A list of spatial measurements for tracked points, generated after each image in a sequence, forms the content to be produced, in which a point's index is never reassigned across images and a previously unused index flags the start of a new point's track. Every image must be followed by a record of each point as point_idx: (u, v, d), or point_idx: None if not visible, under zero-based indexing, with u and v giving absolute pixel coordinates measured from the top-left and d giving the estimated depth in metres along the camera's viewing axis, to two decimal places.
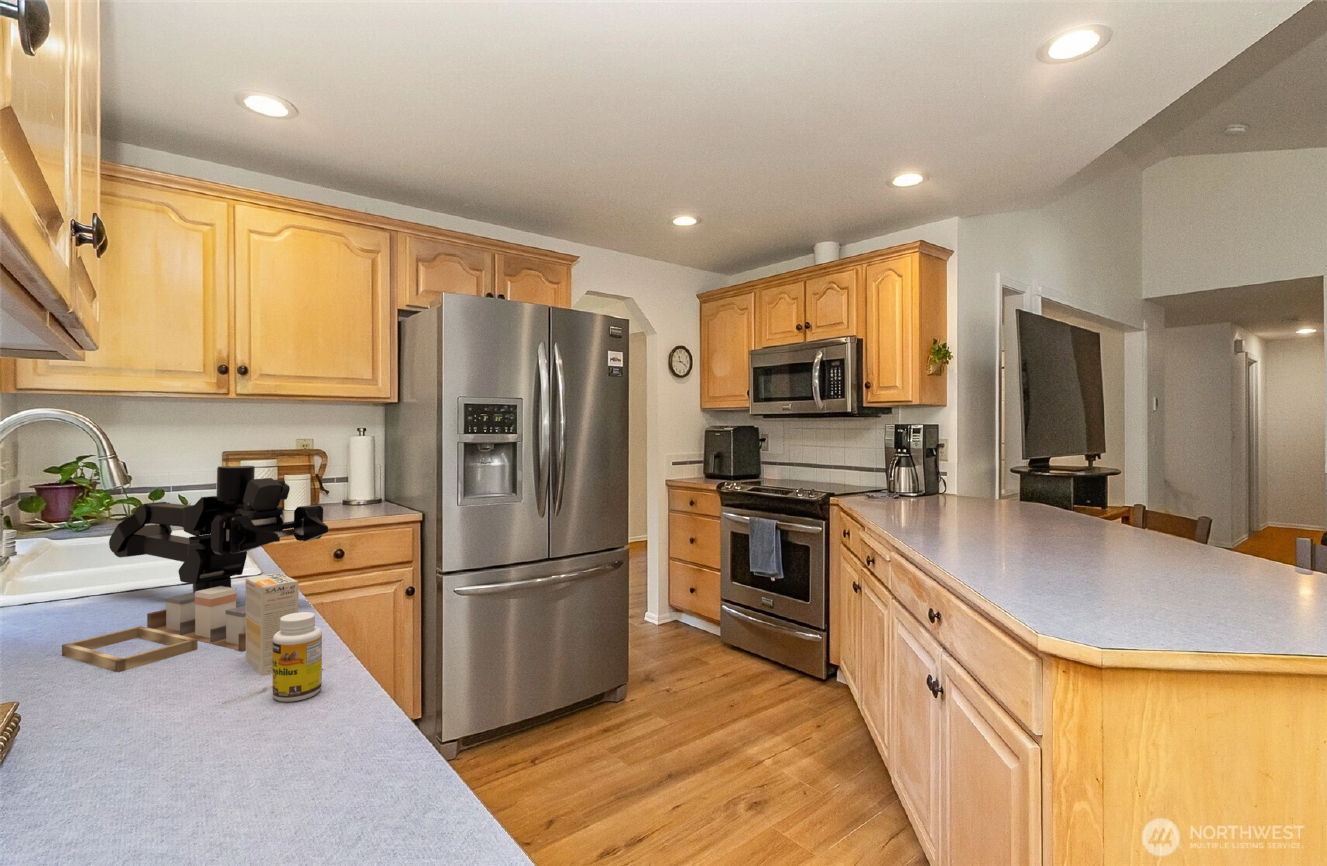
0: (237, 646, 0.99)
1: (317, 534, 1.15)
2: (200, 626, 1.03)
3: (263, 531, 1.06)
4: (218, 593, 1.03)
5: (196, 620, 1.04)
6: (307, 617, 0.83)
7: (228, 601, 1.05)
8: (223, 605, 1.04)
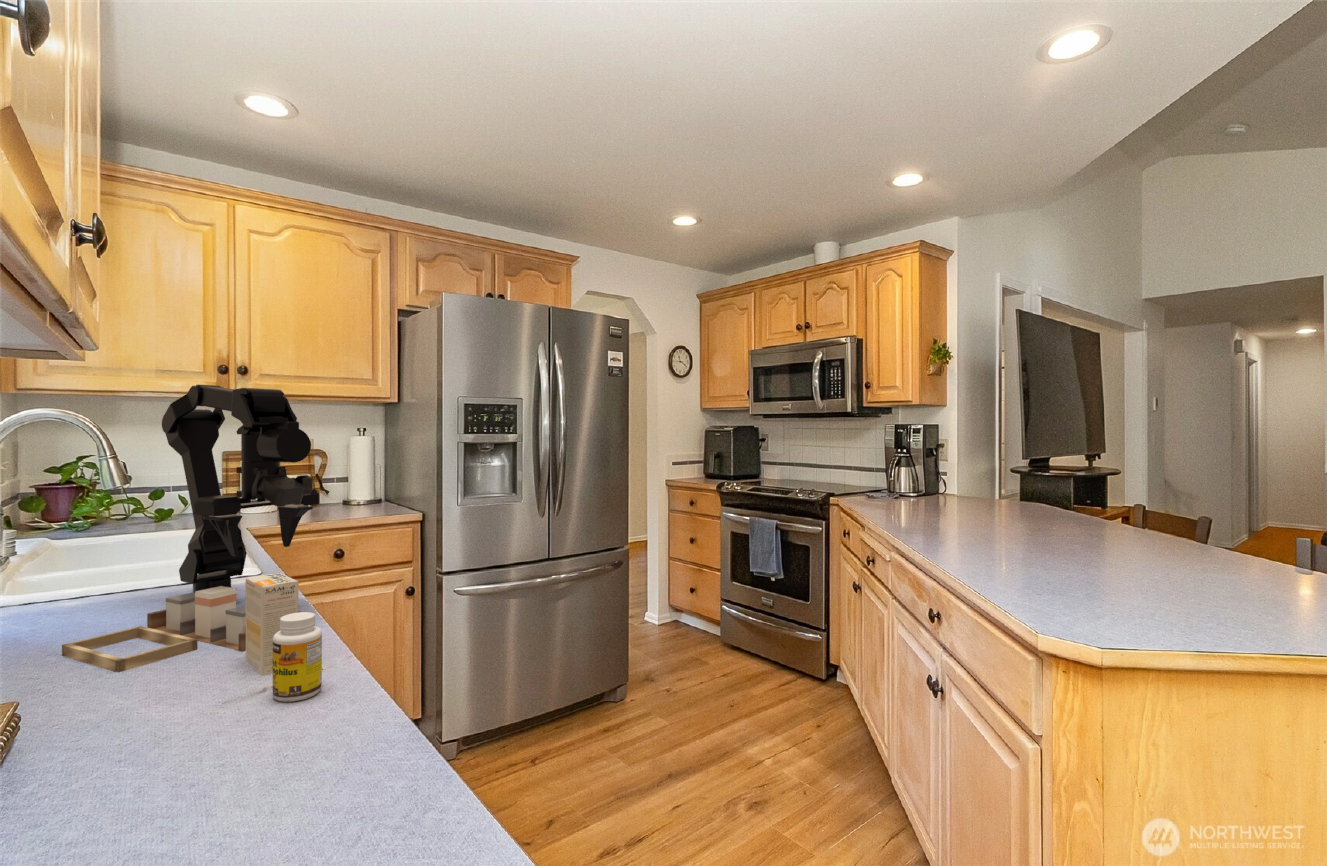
0: (237, 646, 0.99)
1: (281, 532, 1.16)
2: (200, 626, 1.03)
3: (232, 543, 1.06)
4: (218, 593, 1.03)
5: (196, 620, 1.04)
6: (307, 617, 0.83)
7: (228, 601, 1.05)
8: (223, 605, 1.04)
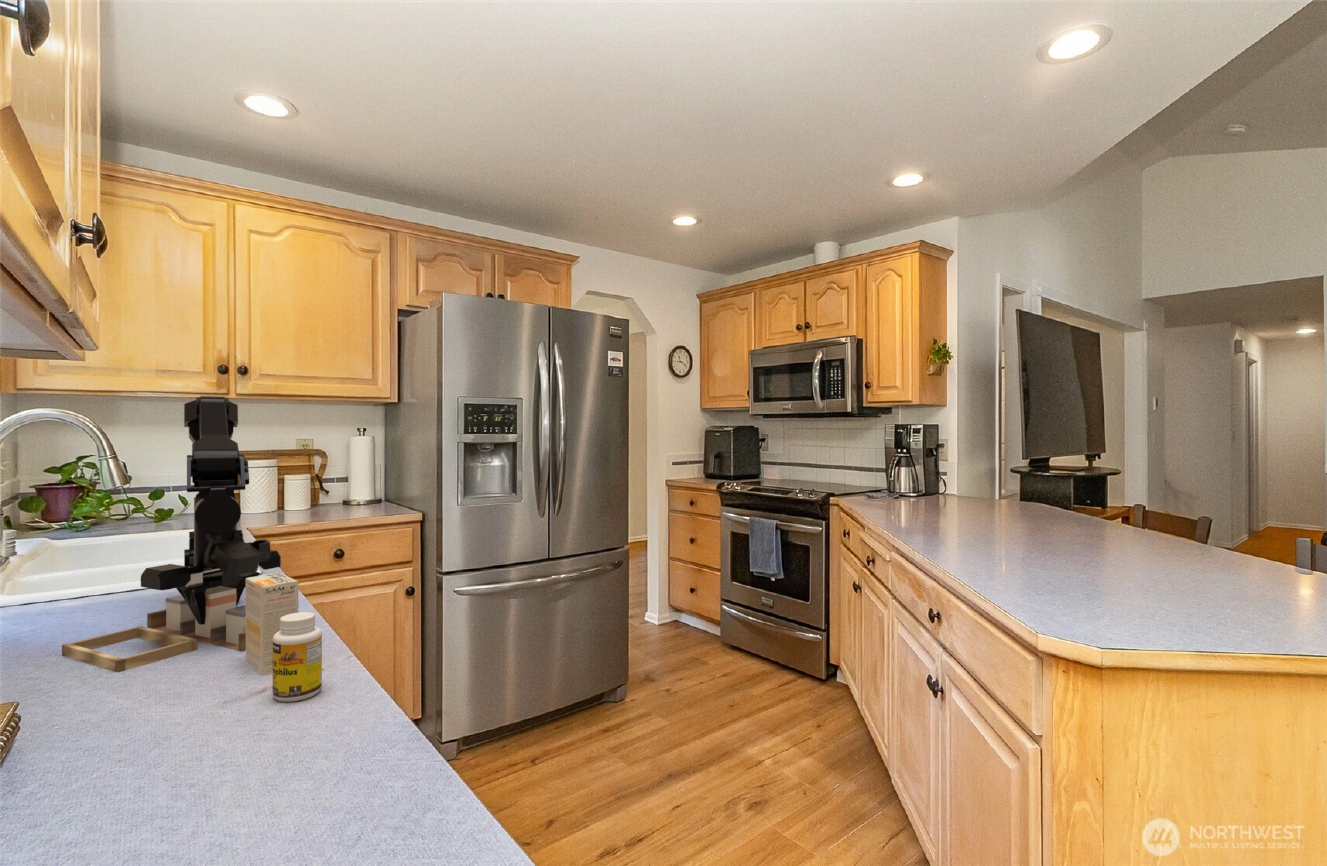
0: (237, 646, 0.99)
1: None
2: (200, 626, 1.03)
3: (199, 611, 1.02)
4: (218, 593, 1.03)
5: (196, 620, 1.04)
6: (307, 617, 0.83)
7: (228, 601, 1.05)
8: (223, 605, 1.04)
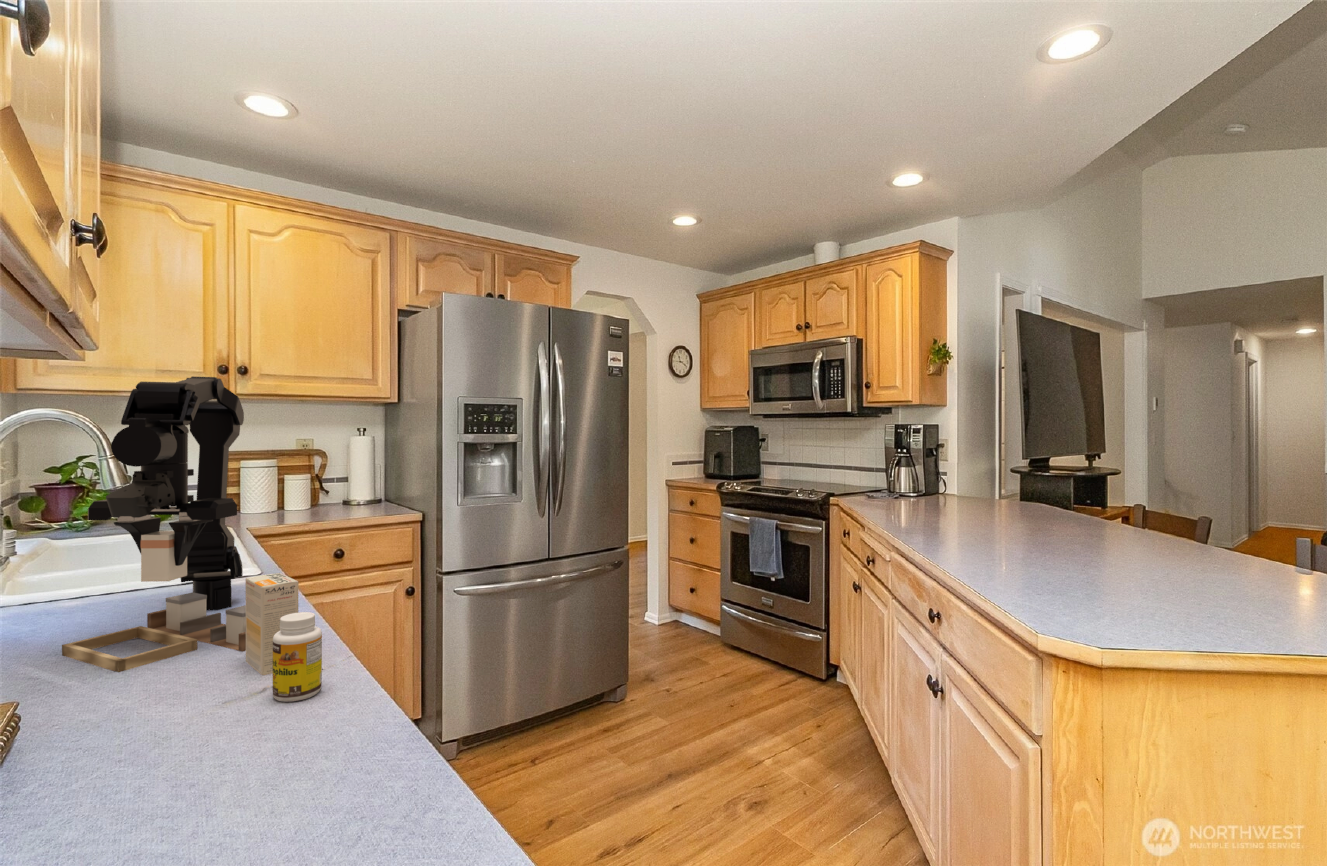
0: (237, 646, 0.99)
1: None
2: None
3: (140, 551, 0.98)
4: (150, 536, 0.97)
5: None
6: (307, 617, 0.83)
7: (159, 547, 0.97)
8: (154, 549, 0.97)
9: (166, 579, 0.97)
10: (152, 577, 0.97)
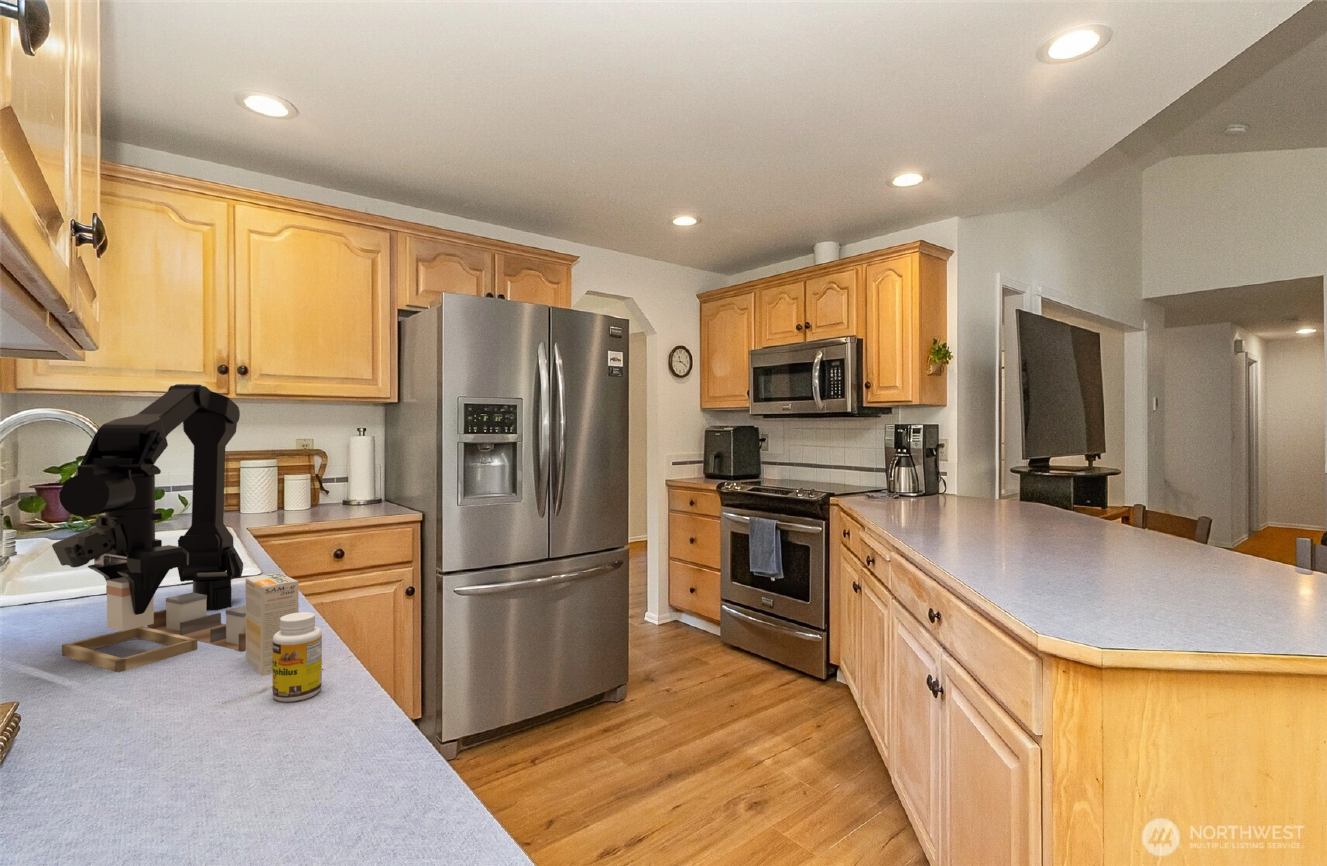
0: (237, 646, 0.99)
1: None
2: None
3: None
4: (111, 582, 0.94)
5: None
6: (307, 617, 0.83)
7: (116, 594, 0.94)
8: (114, 597, 0.94)
9: (121, 629, 0.93)
10: (113, 624, 0.94)
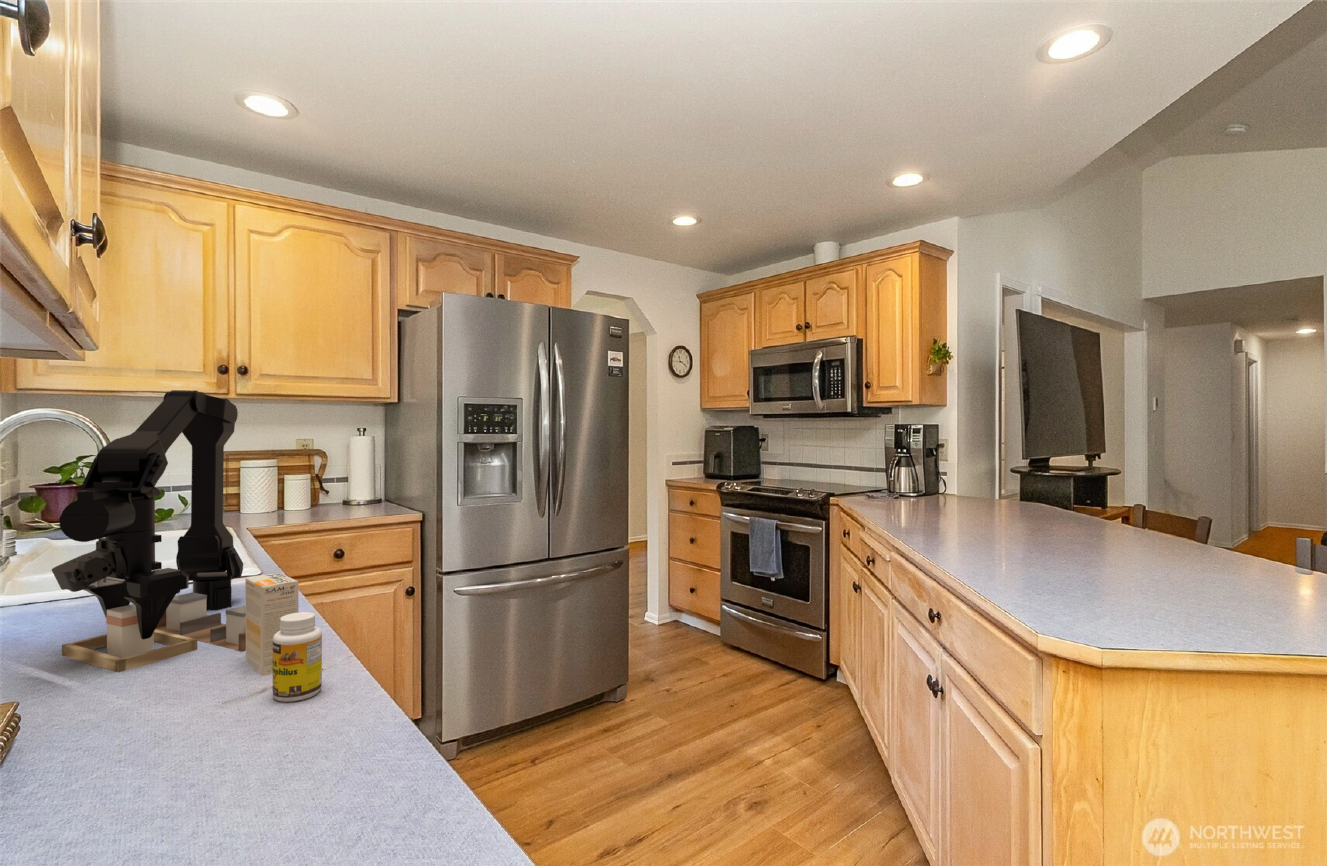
0: (237, 646, 0.99)
1: None
2: None
3: None
4: (111, 611, 0.94)
5: None
6: (307, 617, 0.83)
7: (116, 624, 0.94)
8: (114, 626, 0.94)
9: None
10: (113, 654, 0.94)
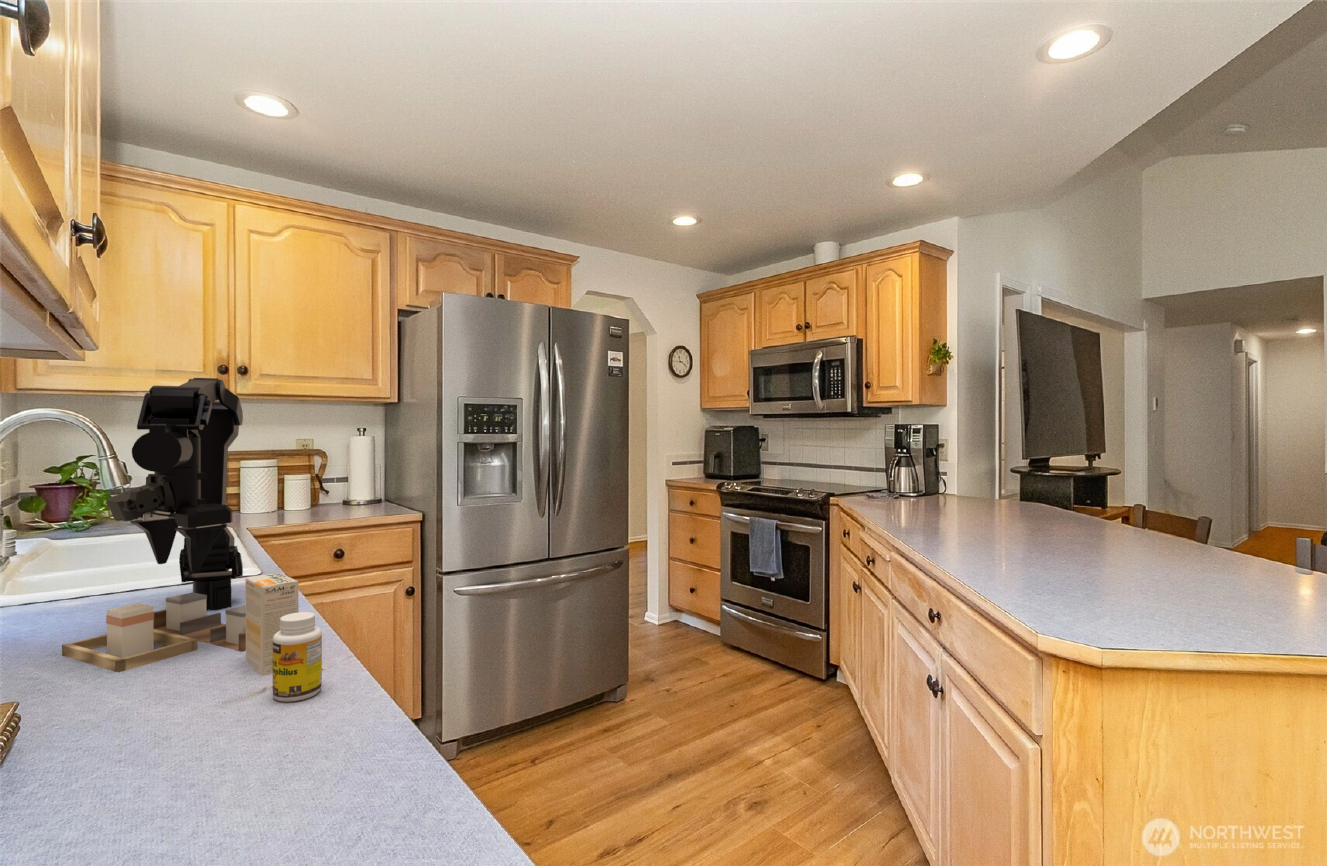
0: (237, 646, 0.99)
1: None
2: None
3: (153, 549, 1.02)
4: (111, 611, 0.94)
5: None
6: (307, 617, 0.83)
7: (116, 624, 0.94)
8: (114, 626, 0.94)
9: None
10: (113, 654, 0.94)
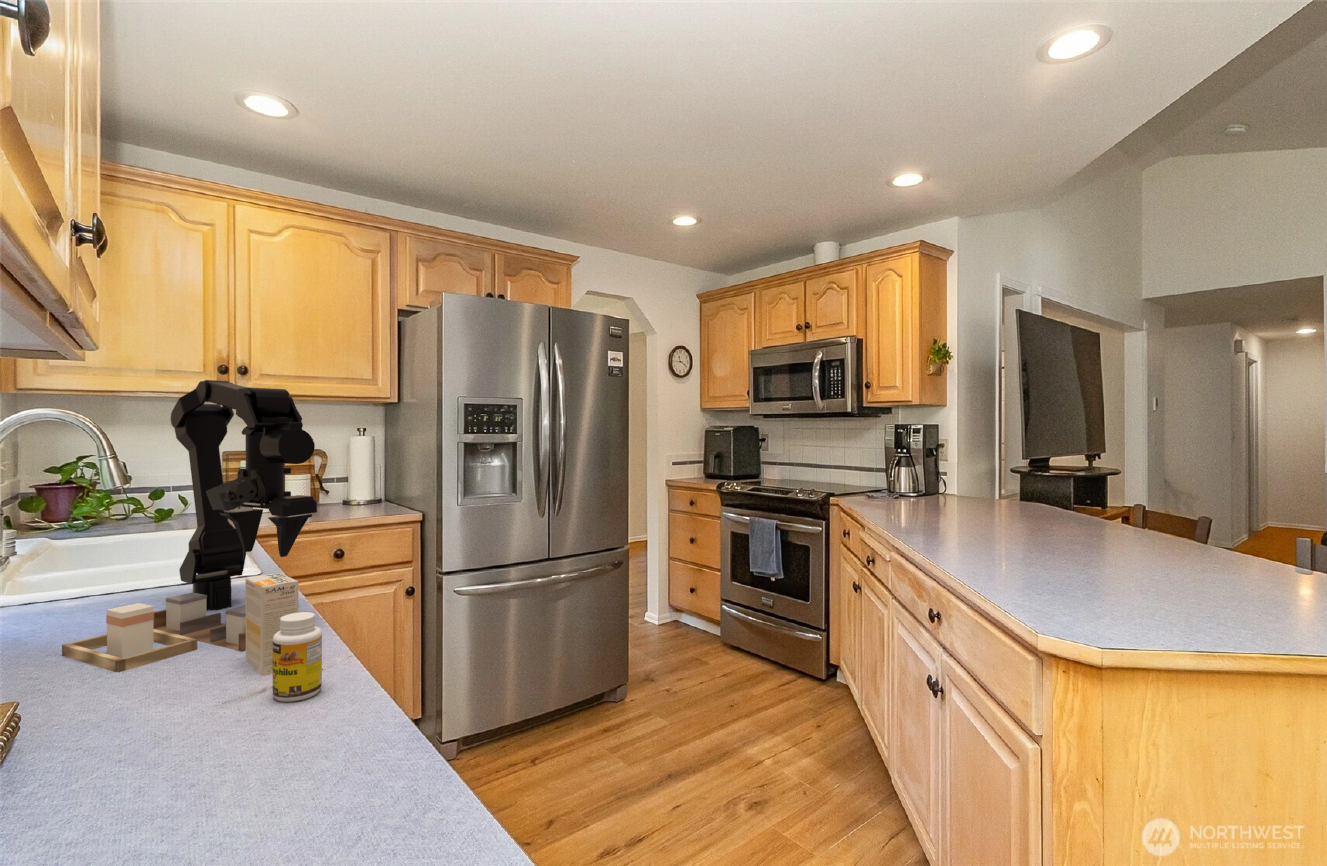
0: (237, 646, 0.99)
1: None
2: None
3: (240, 538, 1.11)
4: (111, 611, 0.94)
5: None
6: (307, 617, 0.83)
7: (116, 624, 0.94)
8: (114, 626, 0.94)
9: None
10: (113, 654, 0.94)
